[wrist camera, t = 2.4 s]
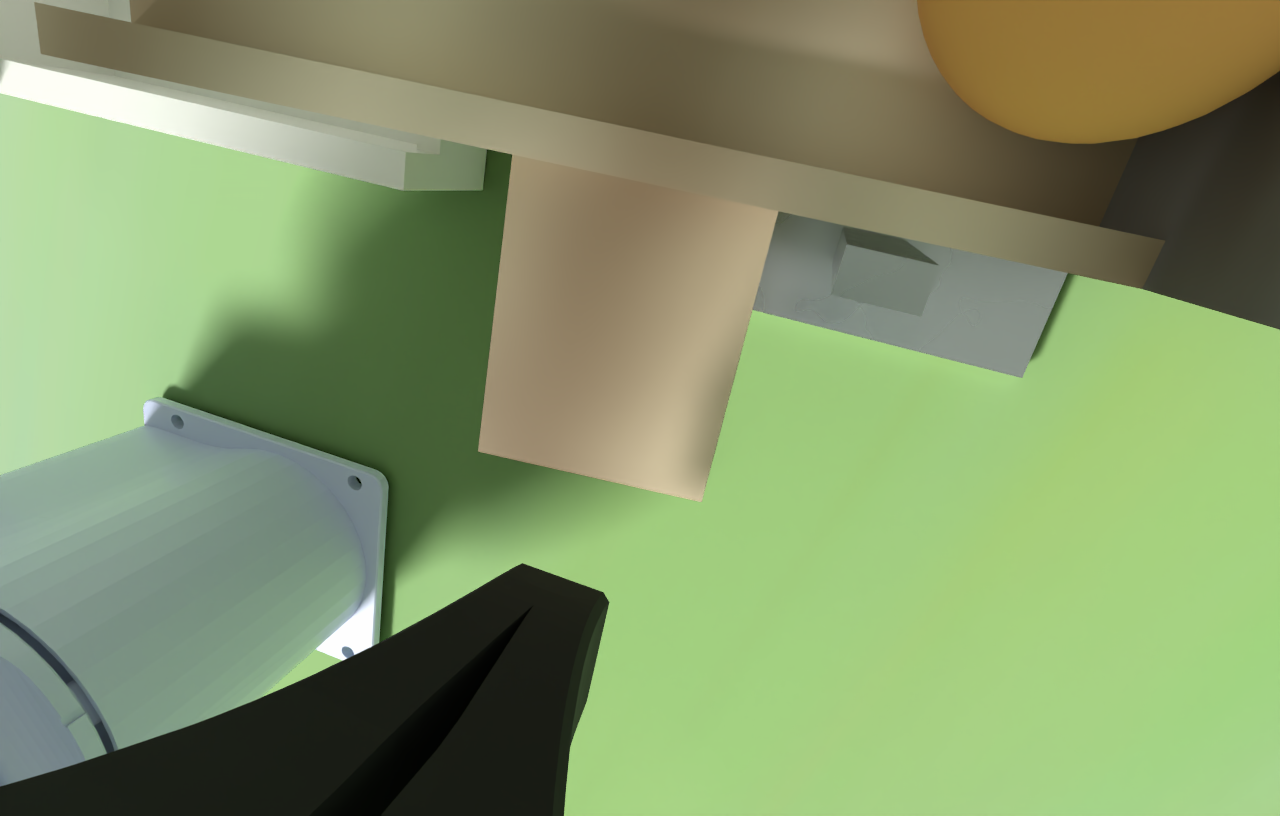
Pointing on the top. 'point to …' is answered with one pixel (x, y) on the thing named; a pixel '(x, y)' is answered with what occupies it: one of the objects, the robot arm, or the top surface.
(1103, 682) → the top surface
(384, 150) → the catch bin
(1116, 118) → the ball
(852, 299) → the lever stand
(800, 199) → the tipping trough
